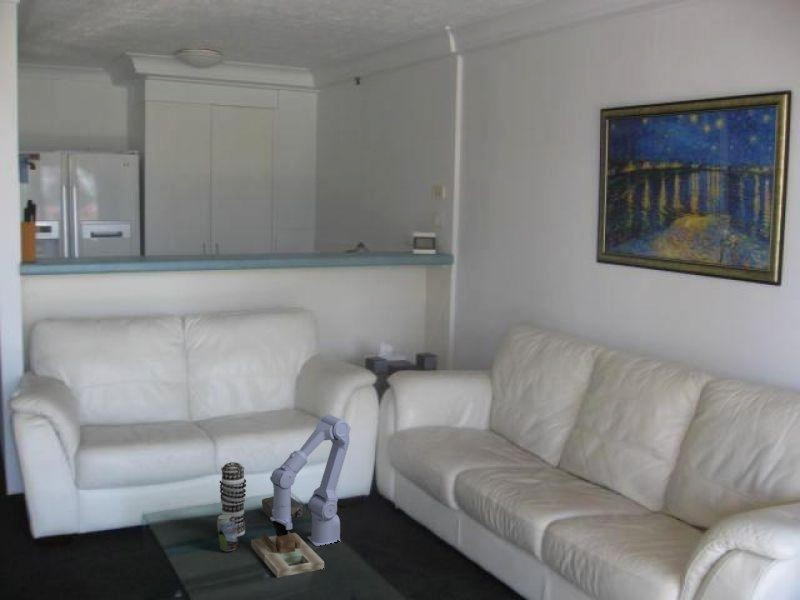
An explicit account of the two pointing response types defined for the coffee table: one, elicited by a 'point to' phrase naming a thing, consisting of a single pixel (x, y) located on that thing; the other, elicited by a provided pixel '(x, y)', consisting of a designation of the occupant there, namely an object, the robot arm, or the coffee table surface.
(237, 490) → the decorative candle
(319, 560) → the deck
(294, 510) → the geological specimen
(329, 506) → the robot arm
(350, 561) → the coffee table surface
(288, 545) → the block
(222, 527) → the beverage can
